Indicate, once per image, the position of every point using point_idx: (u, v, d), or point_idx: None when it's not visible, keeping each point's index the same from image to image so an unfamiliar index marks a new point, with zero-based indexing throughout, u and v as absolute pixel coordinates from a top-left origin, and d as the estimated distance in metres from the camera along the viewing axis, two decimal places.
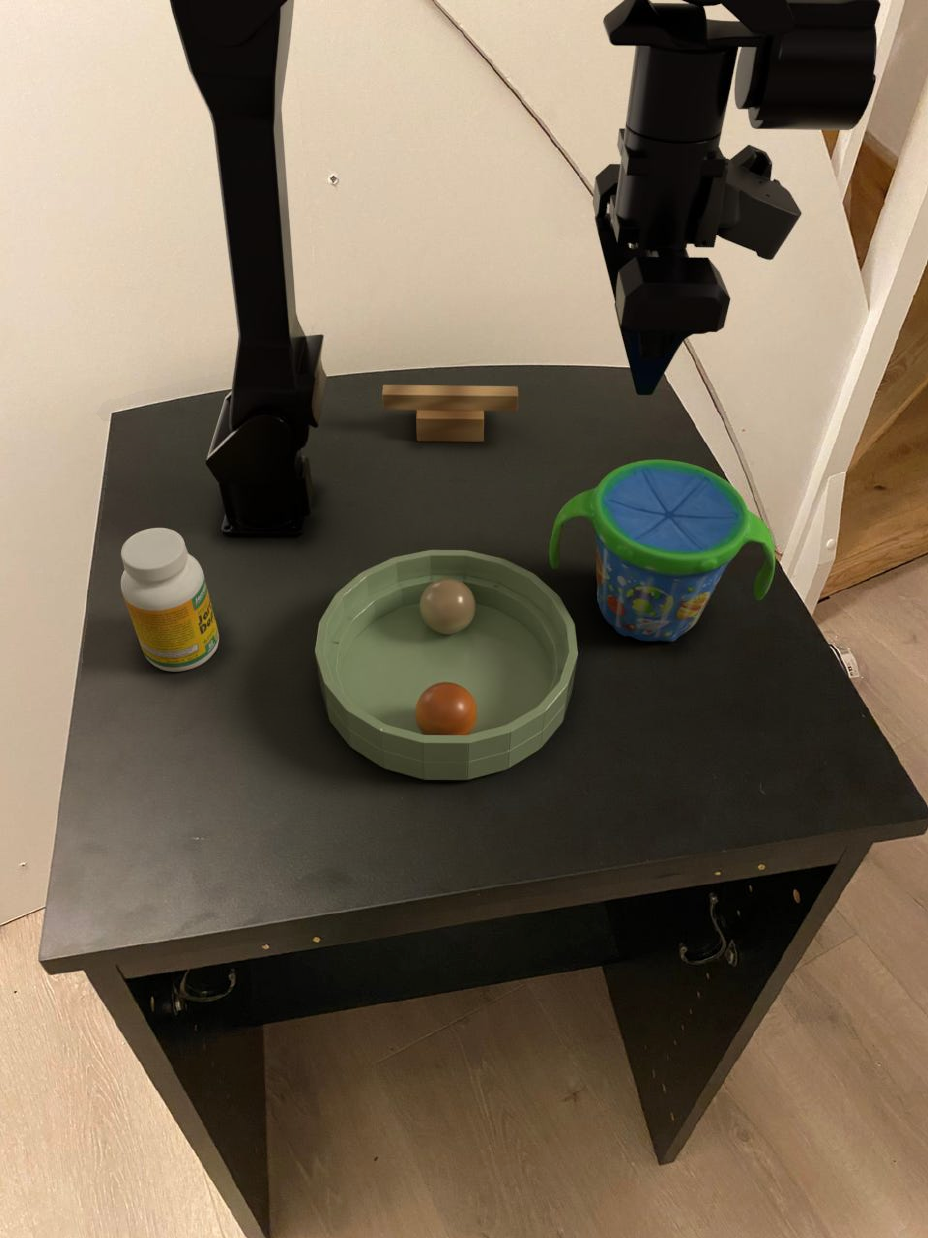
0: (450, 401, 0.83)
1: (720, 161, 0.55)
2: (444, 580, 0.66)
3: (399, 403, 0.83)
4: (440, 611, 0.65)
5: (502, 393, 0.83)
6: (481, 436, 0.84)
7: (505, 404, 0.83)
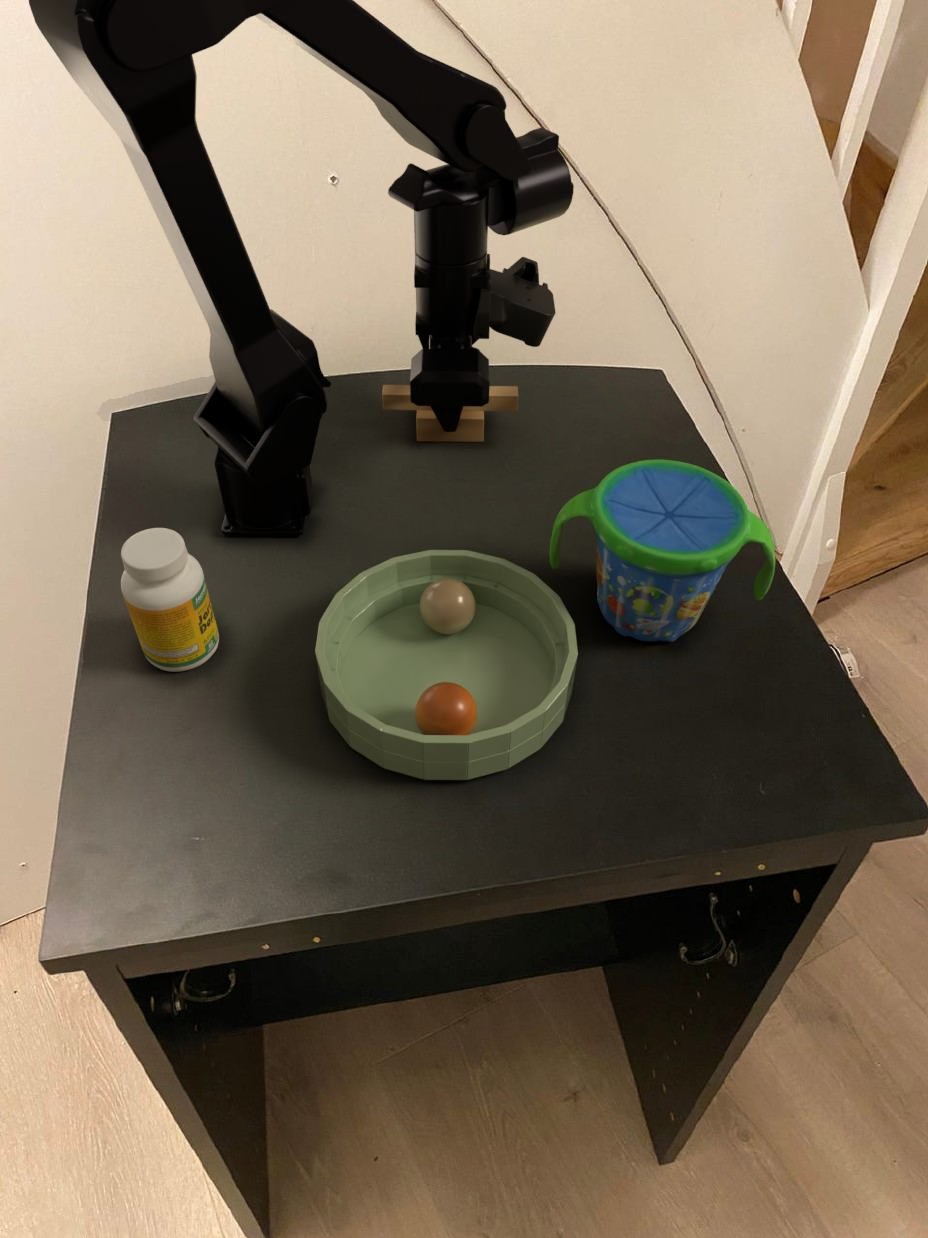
0: None
1: (483, 277, 0.73)
2: (444, 580, 0.66)
3: (399, 403, 0.83)
4: (440, 611, 0.65)
5: (502, 393, 0.83)
6: (481, 436, 0.84)
7: (505, 404, 0.83)
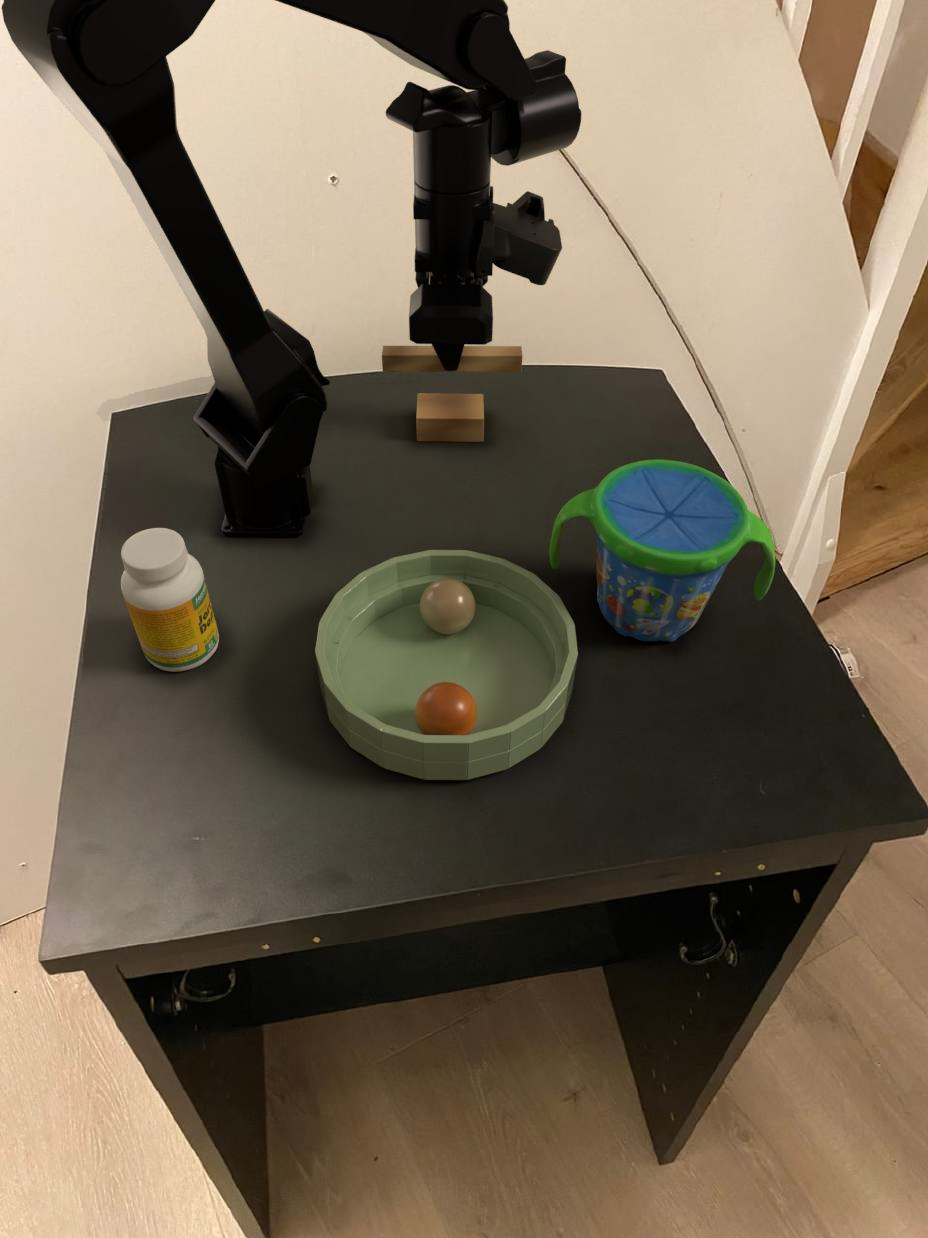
0: None
1: (487, 208, 0.69)
2: (444, 580, 0.66)
3: (399, 364, 0.81)
4: (440, 611, 0.65)
5: (505, 353, 0.80)
6: (481, 436, 0.84)
7: (509, 364, 0.81)
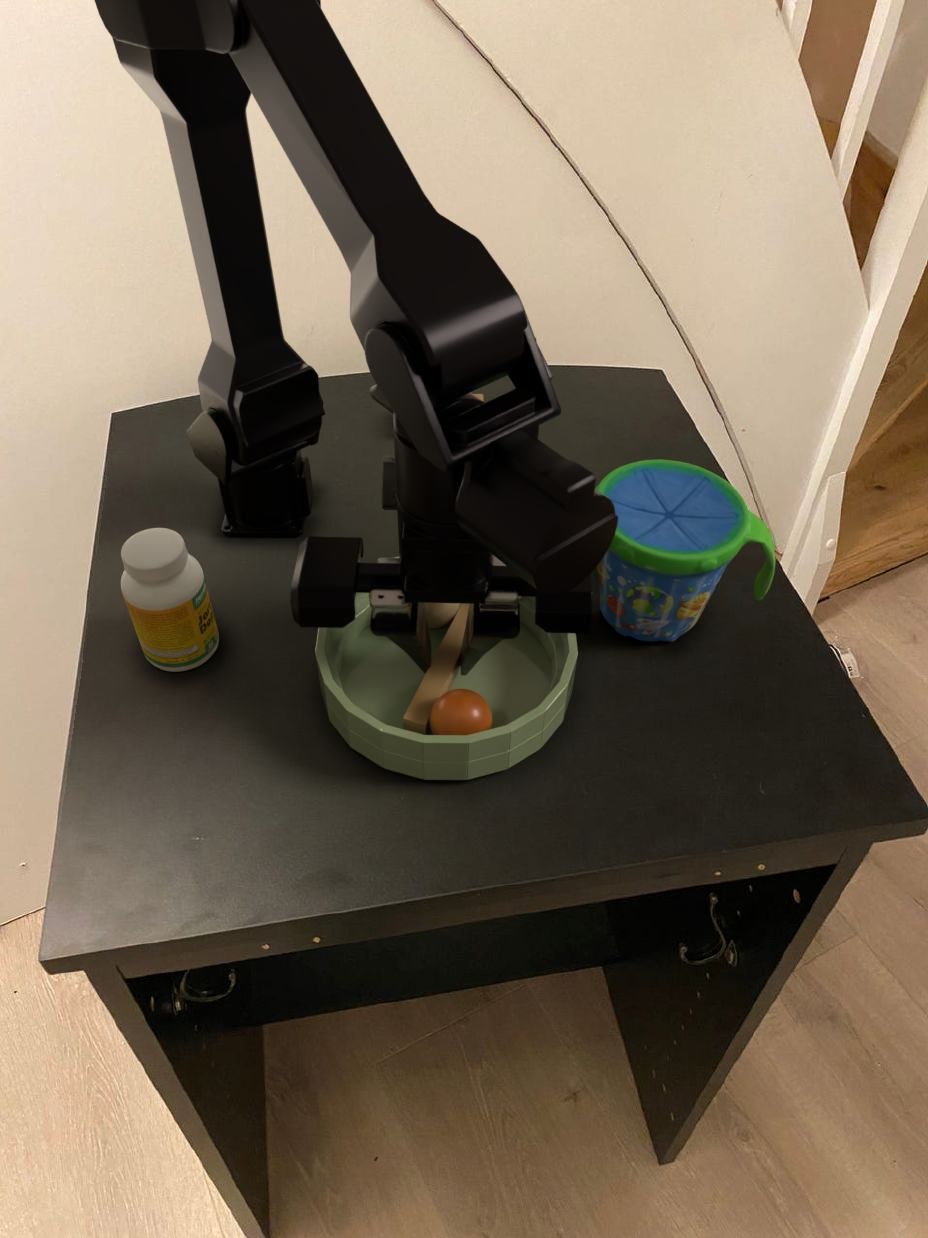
0: (458, 664, 0.64)
1: None
2: None
3: None
4: None
5: None
6: None
7: None
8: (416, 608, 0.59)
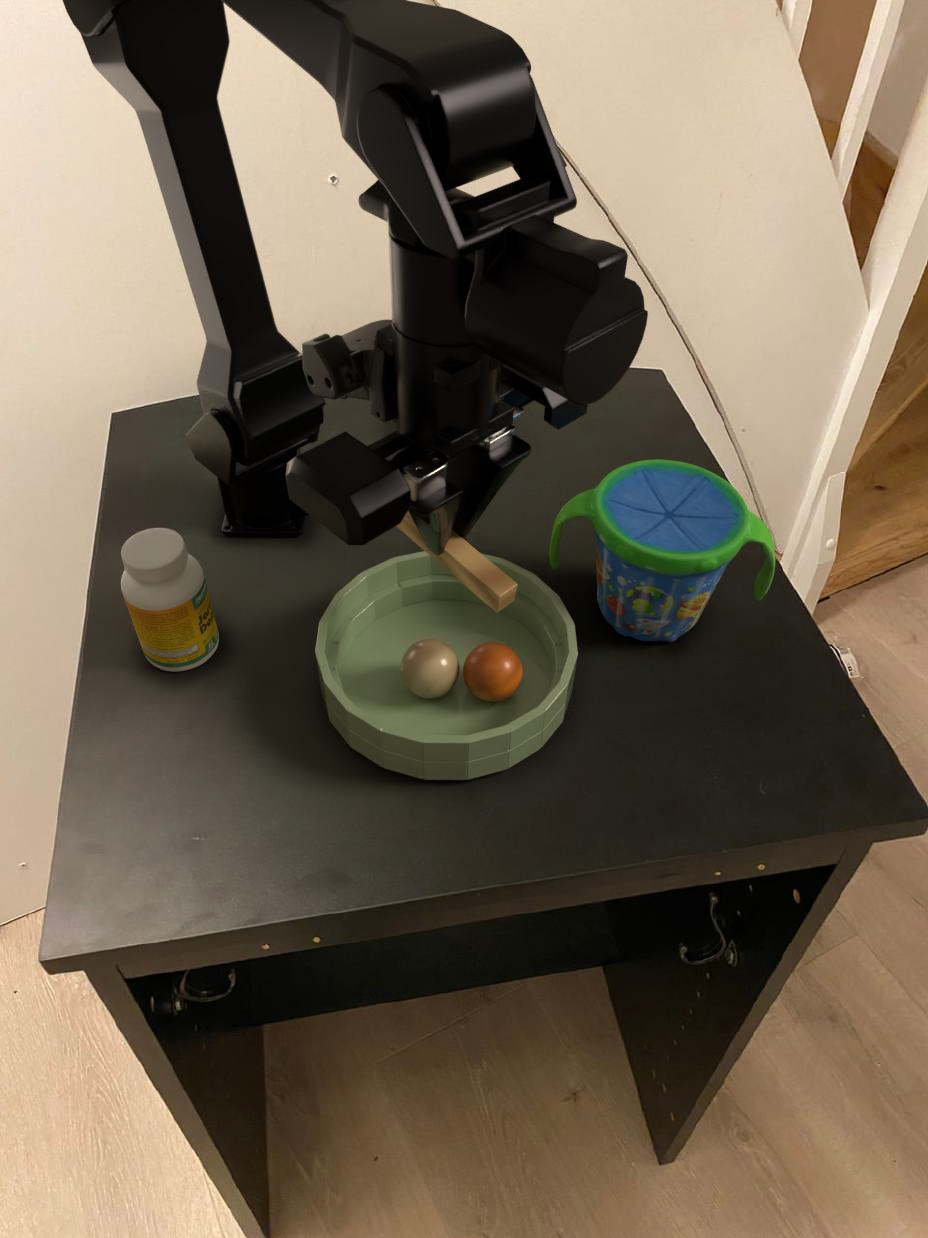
0: None
1: None
2: (455, 682, 0.62)
3: None
4: (421, 696, 0.62)
5: None
6: None
7: None
8: None
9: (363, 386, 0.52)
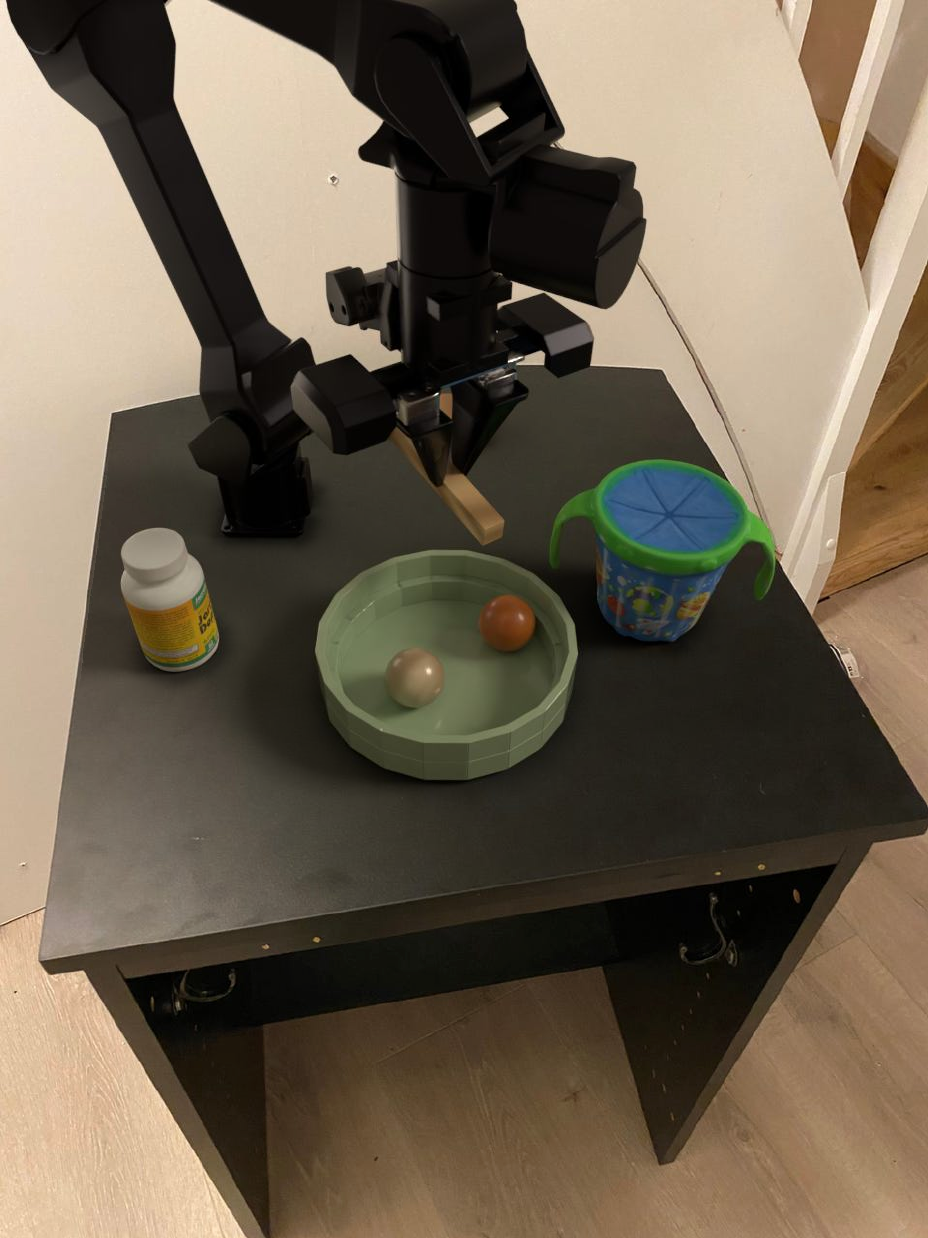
0: None
1: None
2: (440, 686, 0.62)
3: None
4: None
5: None
6: None
7: None
8: None
9: (375, 316, 0.57)
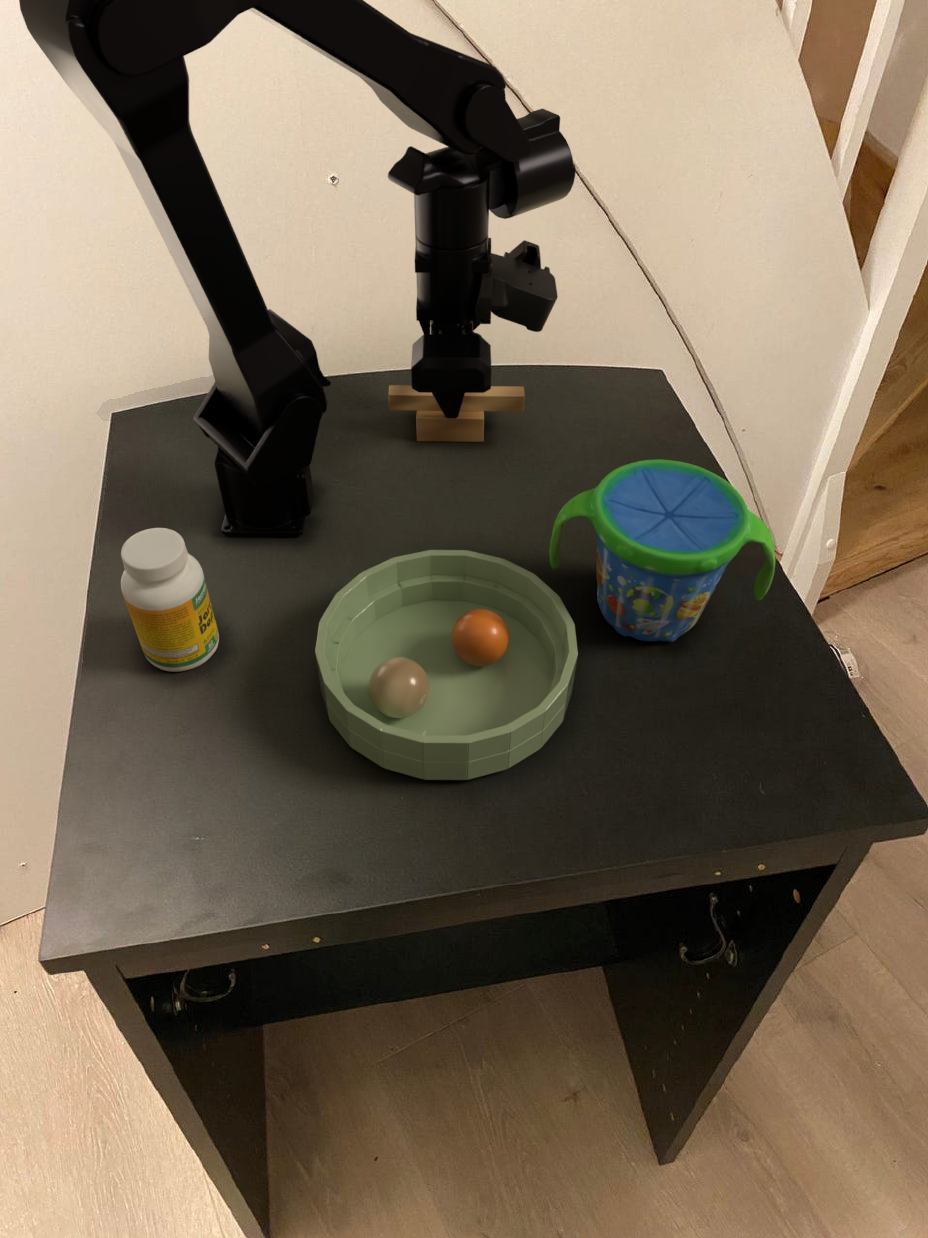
0: None
1: (485, 262, 0.72)
2: (420, 696, 0.61)
3: (405, 403, 0.83)
4: None
5: (508, 393, 0.83)
6: (481, 436, 0.84)
7: (511, 404, 0.83)
8: None
9: None
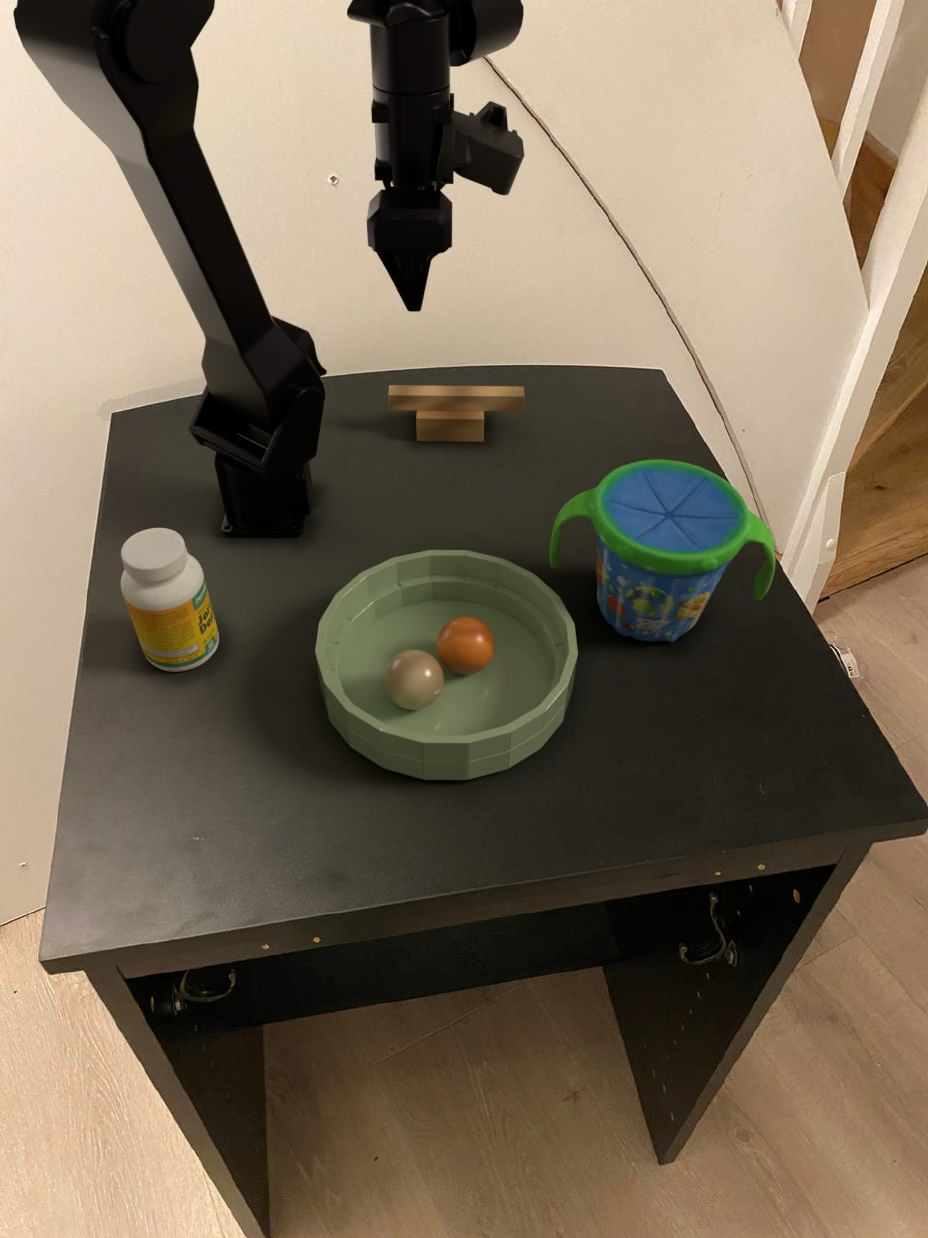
0: (456, 401, 0.83)
1: (446, 111, 0.68)
2: (438, 689, 0.61)
3: (405, 403, 0.83)
4: None
5: (508, 393, 0.83)
6: (481, 436, 0.84)
7: (511, 404, 0.83)
8: None
9: None
